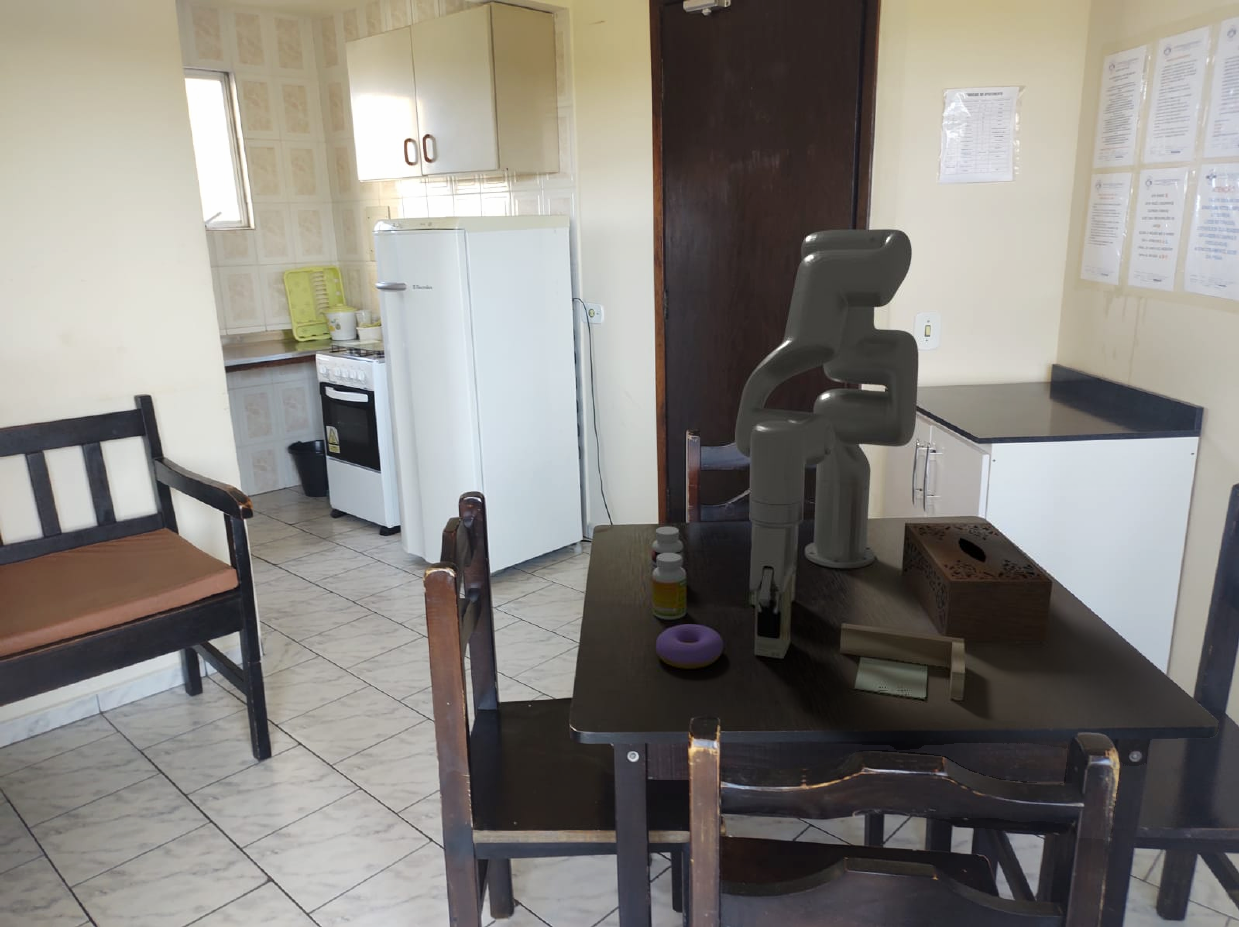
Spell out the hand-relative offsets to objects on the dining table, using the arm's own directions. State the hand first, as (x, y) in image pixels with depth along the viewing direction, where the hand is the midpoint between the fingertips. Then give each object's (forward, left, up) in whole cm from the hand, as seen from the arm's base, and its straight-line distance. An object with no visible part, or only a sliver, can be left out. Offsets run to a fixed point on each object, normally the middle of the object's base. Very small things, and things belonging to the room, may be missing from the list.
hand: (773, 625), depth 128 cm
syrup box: (-16, -3, -4) cm, 17 cm away
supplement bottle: (-7, -18, -4) cm, 20 cm away
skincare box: (0, 0, -4) cm, 4 cm away
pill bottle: (-19, -22, -4) cm, 29 cm away
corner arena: (+3, +18, -4) cm, 18 cm away
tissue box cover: (-24, +27, -4) cm, 36 cm away
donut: (+6, -11, -4) cm, 13 cm away
